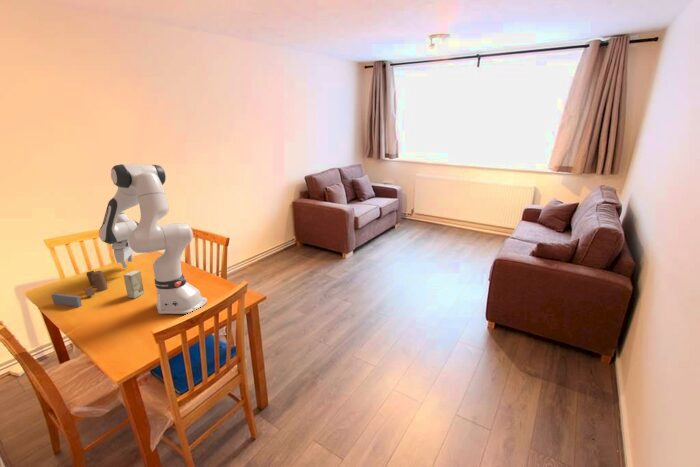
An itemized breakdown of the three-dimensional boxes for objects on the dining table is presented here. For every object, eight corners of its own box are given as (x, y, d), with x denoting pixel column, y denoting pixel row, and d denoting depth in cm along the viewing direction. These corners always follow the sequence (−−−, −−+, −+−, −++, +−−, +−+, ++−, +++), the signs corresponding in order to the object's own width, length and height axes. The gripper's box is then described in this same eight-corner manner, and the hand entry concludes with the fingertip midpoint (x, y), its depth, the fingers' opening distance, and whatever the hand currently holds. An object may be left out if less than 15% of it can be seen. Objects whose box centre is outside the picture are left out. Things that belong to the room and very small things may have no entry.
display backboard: (81, 305, 157) (79, 295, 156) (78, 307, 156) (76, 297, 154) (57, 302, 160) (54, 293, 158) (54, 304, 158) (51, 294, 157)
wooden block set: (86, 286, 177) (80, 268, 173) (106, 280, 182) (100, 263, 178) (87, 299, 164) (80, 281, 160) (108, 293, 168) (102, 275, 165)
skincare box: (134, 298, 164) (130, 275, 160) (127, 297, 165) (122, 275, 161) (145, 292, 170) (140, 270, 166) (137, 292, 171) (133, 269, 167)
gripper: (122, 236, 195) (127, 258, 199) (110, 247, 176) (115, 271, 180) (135, 235, 197) (139, 257, 201) (124, 246, 178) (128, 270, 182)
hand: (127, 264), depth 190 cm, fingers open, 8 cm apart
